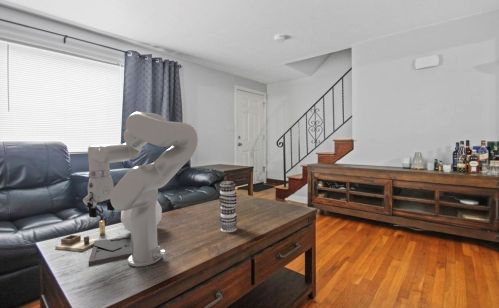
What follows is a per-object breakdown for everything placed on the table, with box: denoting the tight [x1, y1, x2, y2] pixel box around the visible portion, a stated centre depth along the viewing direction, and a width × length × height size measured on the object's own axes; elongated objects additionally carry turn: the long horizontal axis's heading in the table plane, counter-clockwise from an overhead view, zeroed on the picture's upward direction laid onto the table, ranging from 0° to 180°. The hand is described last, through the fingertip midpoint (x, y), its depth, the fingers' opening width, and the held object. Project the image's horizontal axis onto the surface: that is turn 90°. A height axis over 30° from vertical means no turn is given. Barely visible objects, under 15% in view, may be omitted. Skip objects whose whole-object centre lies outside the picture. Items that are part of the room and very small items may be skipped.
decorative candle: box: [218, 180, 238, 233], centre depth 130 cm, size 9×9×25 cm
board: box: [54, 234, 102, 253], centre depth 114 cm, size 15×10×4 cm
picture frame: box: [88, 235, 132, 266], centre depth 109 cm, size 16×2×21 cm
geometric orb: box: [120, 200, 163, 232], centre depth 129 cm, size 19×20×20 cm
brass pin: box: [98, 219, 106, 236], centre depth 127 cm, size 2×2×7 cm
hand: (102, 213), depth 108 cm, fingers open, 9 cm apart
